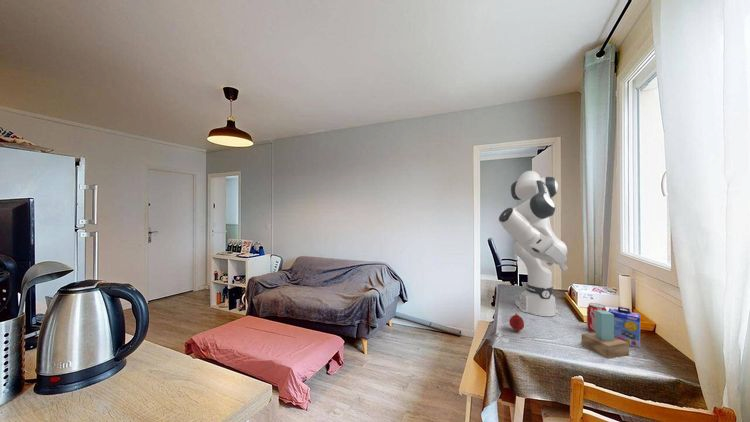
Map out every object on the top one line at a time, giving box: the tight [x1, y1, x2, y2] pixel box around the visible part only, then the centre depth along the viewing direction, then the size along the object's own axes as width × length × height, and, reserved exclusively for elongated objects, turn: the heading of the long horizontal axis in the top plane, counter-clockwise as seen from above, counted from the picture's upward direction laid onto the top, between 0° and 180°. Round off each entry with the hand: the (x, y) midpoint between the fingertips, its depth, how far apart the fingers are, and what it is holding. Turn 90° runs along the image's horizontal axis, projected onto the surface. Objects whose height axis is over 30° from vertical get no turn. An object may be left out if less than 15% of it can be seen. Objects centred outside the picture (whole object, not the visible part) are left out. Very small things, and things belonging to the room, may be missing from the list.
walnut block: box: [581, 332, 630, 359], centre depth 105 cm, size 10×10×5 cm
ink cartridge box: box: [607, 306, 641, 348], centre depth 113 cm, size 10×6×14 cm, turn 45°
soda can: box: [586, 302, 608, 333], centre depth 122 cm, size 7×7×12 cm
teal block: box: [596, 310, 614, 341], centre depth 106 cm, size 4×4×10 cm
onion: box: [509, 312, 525, 332], centre depth 122 cm, size 6×6×8 cm
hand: (558, 266), depth 110 cm, fingers open, 8 cm apart
